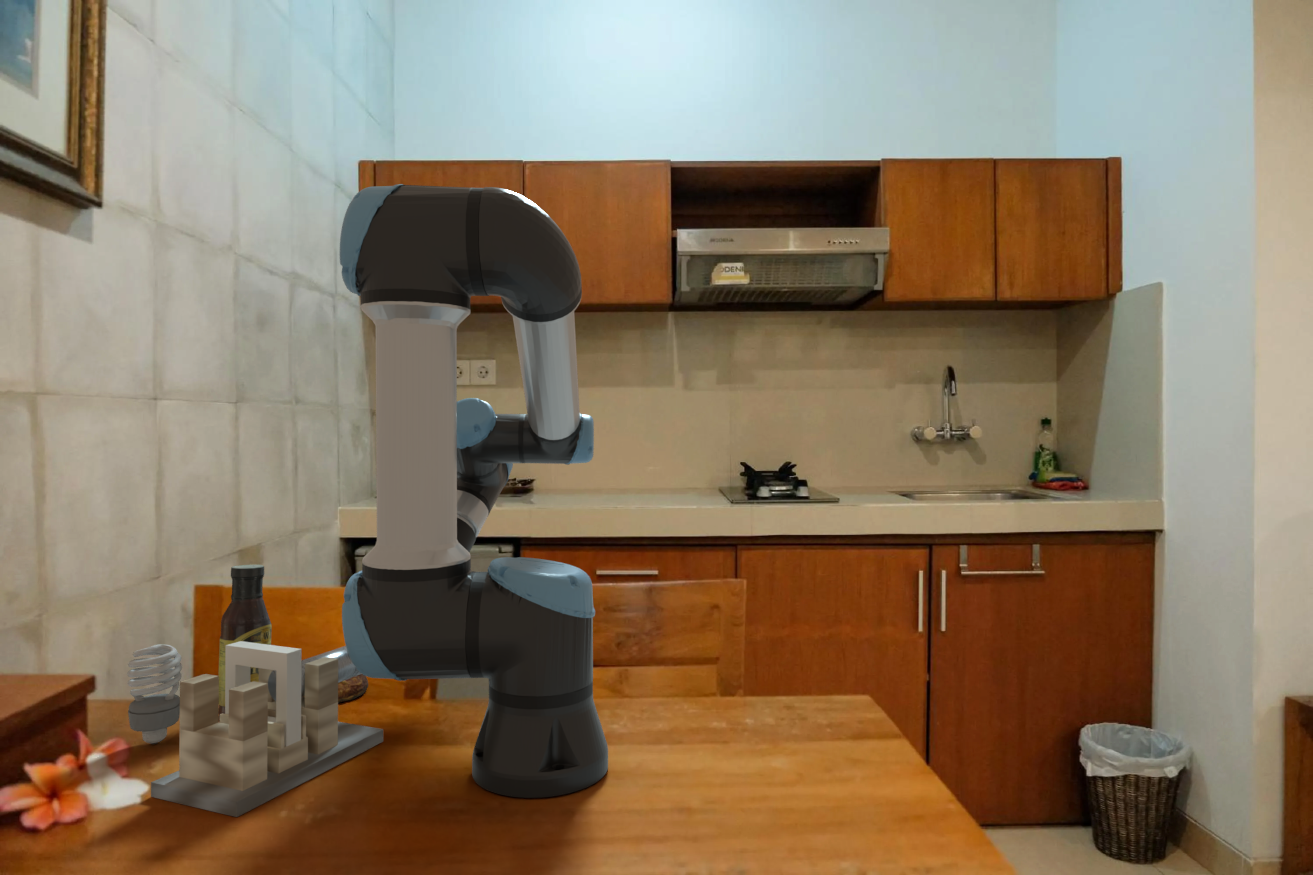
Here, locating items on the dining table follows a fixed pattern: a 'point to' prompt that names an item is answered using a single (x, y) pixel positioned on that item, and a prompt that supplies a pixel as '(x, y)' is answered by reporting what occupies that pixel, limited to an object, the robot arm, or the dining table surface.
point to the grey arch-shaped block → (287, 680)
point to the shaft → (344, 661)
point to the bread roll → (352, 688)
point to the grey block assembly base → (257, 742)
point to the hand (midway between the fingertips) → (378, 665)
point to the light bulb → (158, 708)
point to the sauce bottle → (243, 619)
